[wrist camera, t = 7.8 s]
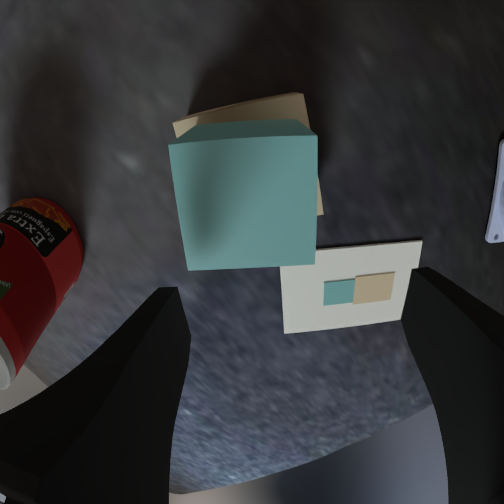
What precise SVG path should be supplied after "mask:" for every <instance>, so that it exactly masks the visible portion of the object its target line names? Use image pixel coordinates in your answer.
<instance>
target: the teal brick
mask: <svg viewBox="0 0 504 504" xmlns="http://www.w3.org/2000/svg"><path fill="white" fill-rule="evenodd" d="M168 146H169V154H170V161H171V169H172V176H173V183H174V189H175V196H176V203H177V209H178V215H179V221H180V227H181V233H182V239H183V245H184V250H185V256H186V261H187V267H188V271H189V270H213V269H235V268H256V267H276V266H296V265H314V264H315V251H316V225H317V179H318V136H317V135H316V134H315V133H314V132H312V131H311V130H310V129H309V128H307V127H306V126H305V125H303V124H302V123H301V122H300V121H298V120H297V119H271V120H250V121H234V122H222V123H210V124H200V125H195V126H194V127H192V128H191V129H189V130H188V131H187V132H185V133H184V134H182V135H181V136H180V137H178V138H177V139H176V140H174V141H173V142H172V143H170V144H169V145H168Z"/></svg>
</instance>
